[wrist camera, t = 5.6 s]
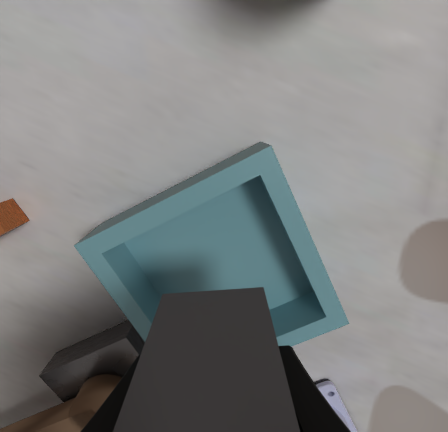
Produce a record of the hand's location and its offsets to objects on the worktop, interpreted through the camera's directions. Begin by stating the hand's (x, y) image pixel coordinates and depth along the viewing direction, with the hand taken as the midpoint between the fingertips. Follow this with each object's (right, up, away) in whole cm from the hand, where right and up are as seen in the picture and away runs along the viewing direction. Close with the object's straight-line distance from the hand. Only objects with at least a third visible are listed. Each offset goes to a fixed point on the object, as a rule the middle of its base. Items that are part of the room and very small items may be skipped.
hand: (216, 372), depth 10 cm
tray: (0, +3, +8) cm, 9 cm away
